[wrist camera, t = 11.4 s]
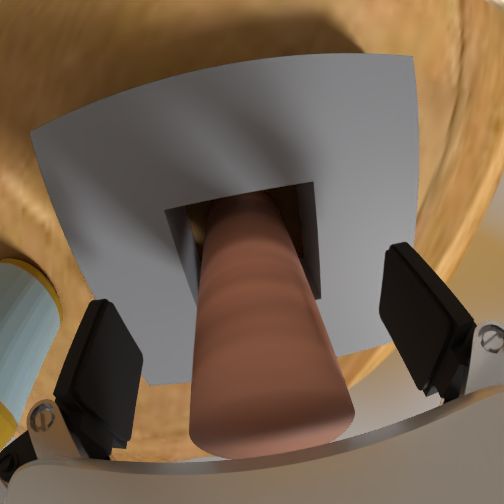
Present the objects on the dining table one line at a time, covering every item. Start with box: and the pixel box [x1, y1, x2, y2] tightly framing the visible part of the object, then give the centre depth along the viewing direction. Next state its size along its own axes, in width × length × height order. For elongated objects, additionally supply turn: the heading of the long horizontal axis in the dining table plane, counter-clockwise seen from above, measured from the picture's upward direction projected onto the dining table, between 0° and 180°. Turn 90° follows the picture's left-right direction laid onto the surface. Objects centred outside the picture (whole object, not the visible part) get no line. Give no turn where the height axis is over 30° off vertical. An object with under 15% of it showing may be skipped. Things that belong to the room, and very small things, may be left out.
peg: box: [189, 190, 355, 460], centre depth 11 cm, size 4×4×12 cm
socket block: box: [29, 53, 419, 386], centre depth 15 cm, size 16×16×4 cm
